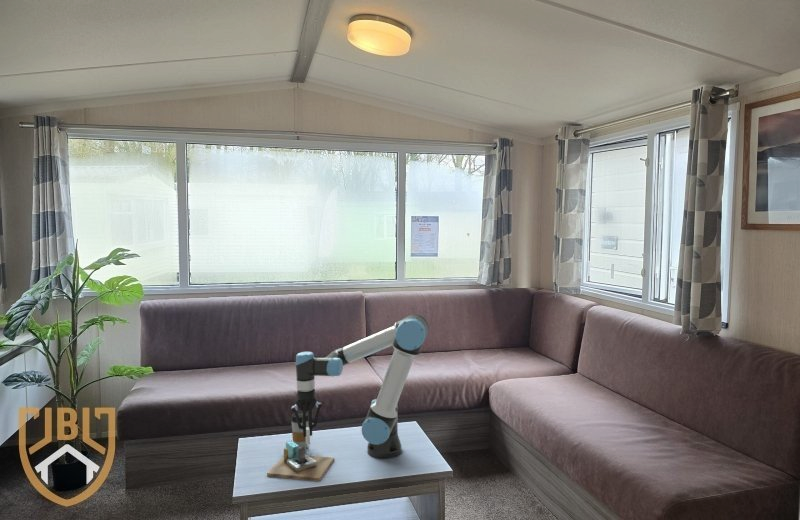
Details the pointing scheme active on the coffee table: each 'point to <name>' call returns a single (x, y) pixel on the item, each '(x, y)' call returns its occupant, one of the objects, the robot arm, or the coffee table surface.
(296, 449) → the flange
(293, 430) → the coffee cup
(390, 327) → the robot arm
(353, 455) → the coffee table surface
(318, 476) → the post base
